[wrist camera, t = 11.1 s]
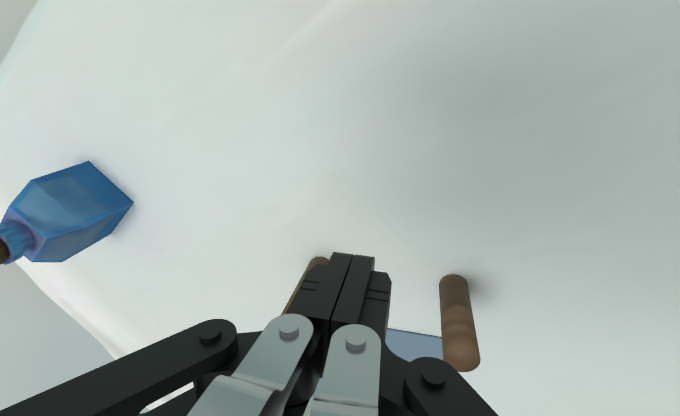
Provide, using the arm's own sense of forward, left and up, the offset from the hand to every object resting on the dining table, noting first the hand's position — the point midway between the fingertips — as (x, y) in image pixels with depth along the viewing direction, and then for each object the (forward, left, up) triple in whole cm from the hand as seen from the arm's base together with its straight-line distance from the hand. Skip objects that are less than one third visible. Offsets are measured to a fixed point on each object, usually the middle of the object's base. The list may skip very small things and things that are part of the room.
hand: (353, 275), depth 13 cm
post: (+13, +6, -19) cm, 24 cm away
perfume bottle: (+8, -32, -19) cm, 38 cm away
